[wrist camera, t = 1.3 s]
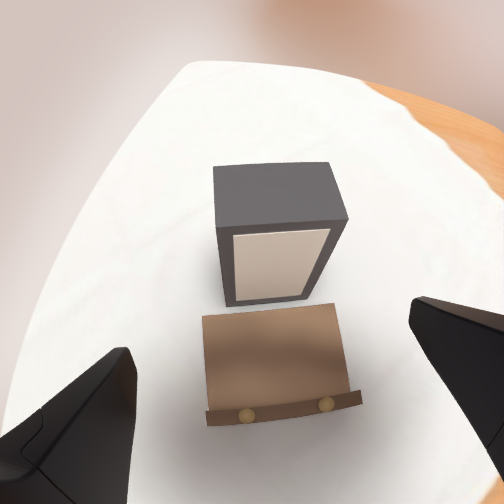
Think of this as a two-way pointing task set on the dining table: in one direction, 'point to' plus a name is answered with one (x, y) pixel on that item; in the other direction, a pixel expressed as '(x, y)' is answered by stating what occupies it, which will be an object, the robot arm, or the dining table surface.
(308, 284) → the grey box
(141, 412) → the dining table surface
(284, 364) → the drawer
